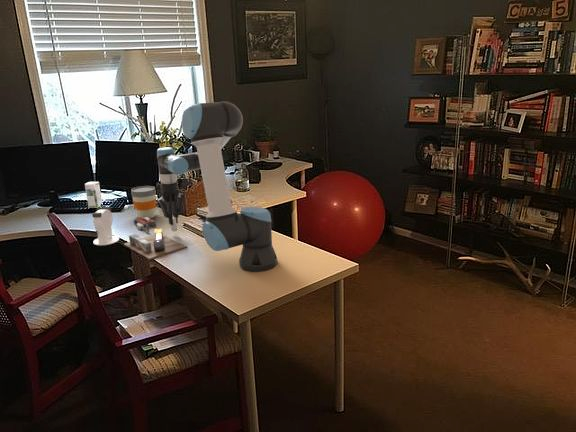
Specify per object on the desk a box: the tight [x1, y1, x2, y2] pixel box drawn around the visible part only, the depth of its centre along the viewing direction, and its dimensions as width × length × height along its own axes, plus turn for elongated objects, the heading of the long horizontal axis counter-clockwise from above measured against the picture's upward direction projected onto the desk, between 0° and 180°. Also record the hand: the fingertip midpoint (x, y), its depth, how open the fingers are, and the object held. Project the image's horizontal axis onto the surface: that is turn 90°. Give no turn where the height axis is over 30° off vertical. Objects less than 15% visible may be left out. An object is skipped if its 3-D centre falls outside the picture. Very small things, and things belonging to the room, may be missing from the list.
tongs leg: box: [153, 228, 165, 252], centre depth 216 cm, size 20×4×4 cm, turn 15°
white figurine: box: [91, 206, 120, 246], centre depth 223 cm, size 12×11×15 cm
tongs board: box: [123, 233, 188, 261], centre depth 215 cm, size 24×18×4 cm
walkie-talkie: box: [133, 216, 157, 233], centre depth 241 cm, size 9×4×20 cm
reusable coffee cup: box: [130, 185, 157, 219], centre depth 255 cm, size 13×13×15 cm
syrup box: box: [84, 181, 103, 209], centre depth 274 cm, size 6×6×14 cm
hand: (174, 230), depth 228 cm, fingers closed
